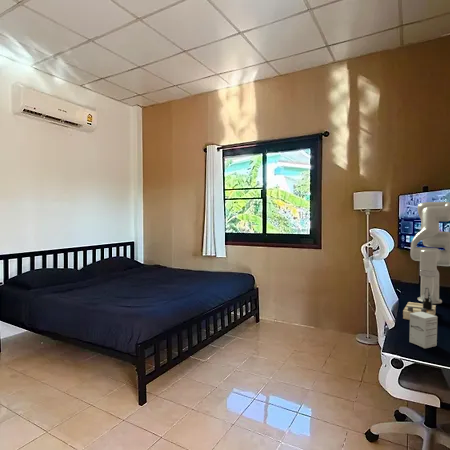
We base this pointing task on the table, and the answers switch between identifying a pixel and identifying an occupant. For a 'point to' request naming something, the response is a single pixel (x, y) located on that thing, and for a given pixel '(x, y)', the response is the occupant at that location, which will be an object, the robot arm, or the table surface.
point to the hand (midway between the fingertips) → (427, 307)
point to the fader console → (416, 309)
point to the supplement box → (423, 329)
